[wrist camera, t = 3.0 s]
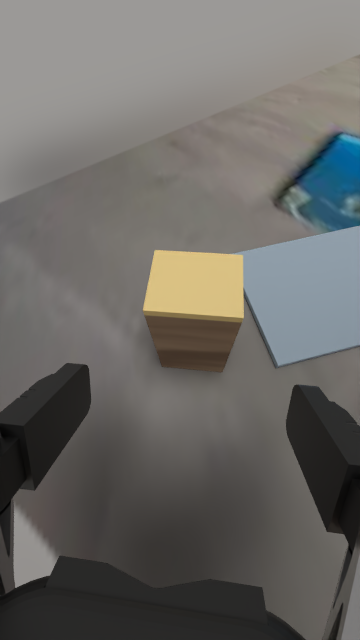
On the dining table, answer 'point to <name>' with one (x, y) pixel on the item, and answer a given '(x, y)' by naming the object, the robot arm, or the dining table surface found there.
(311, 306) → the slate mat
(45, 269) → the dining table surface
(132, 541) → the dining table surface
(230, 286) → the wooden block
